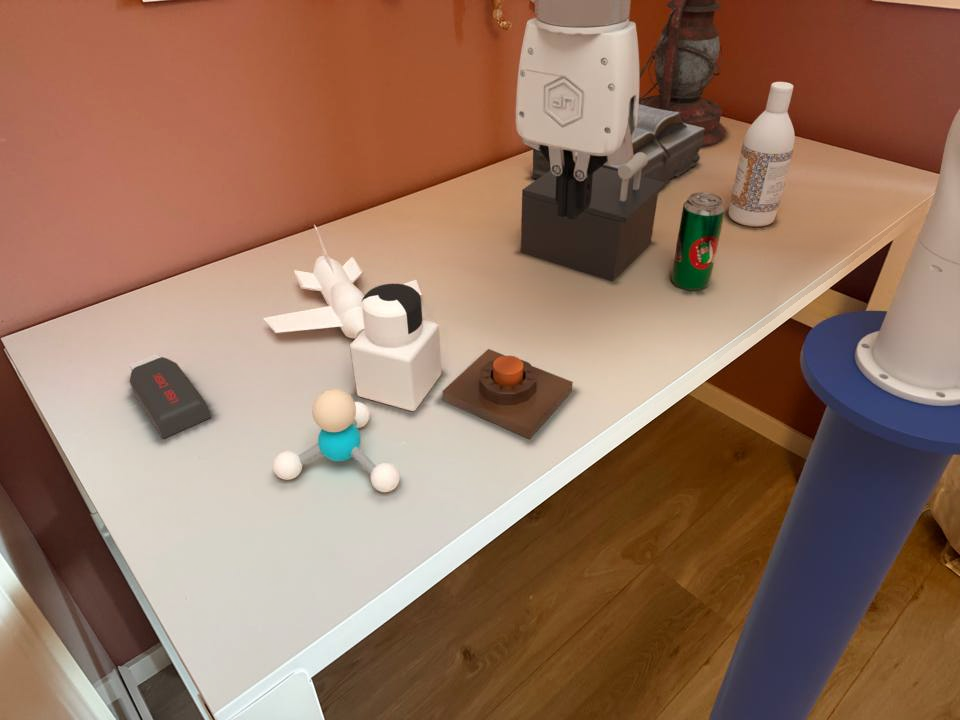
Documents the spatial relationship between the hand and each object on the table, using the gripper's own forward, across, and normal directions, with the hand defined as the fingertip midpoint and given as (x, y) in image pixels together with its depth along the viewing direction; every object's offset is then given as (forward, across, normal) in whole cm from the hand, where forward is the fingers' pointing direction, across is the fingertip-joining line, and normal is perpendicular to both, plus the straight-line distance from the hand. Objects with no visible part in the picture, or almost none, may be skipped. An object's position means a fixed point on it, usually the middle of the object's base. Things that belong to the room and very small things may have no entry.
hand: (572, 212), depth 69 cm
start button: (+17, -3, -7) cm, 19 cm away
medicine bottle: (+20, -14, -12) cm, 27 cm away
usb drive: (+19, -34, -27) cm, 48 cm away
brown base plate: (+20, -3, -7) cm, 21 cm away
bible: (+20, -19, +54) cm, 61 cm away
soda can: (+20, +5, +26) cm, 34 cm away
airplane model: (+20, -30, -4) cm, 36 cm away
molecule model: (+20, -12, -24) cm, 33 cm away
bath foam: (+21, +6, +49) cm, 54 cm away
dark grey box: (+20, -11, +27) cm, 35 cm away
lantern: (+21, -17, +78) cm, 83 cm away
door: (+11, -10, +27) cm, 31 cm away
